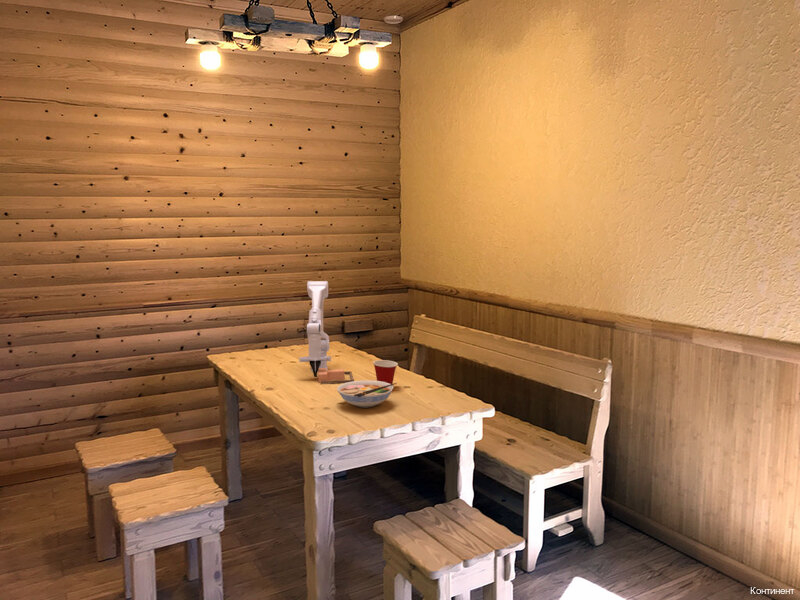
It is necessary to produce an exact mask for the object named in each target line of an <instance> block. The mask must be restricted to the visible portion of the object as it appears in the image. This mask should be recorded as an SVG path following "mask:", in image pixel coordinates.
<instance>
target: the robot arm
mask: <svg viewBox="0 0 800 600" xmlns="http://www.w3.org/2000/svg"><path fill="white" fill-rule="evenodd" d="M306 286H307V287H306V291H307V294H308V297H309V298H311V309H309V311H308V312H309V313H308V323H306V324H307V325H306V334H307V339H308V356H302V357H299V358H298V363H307V362H308V363H309V365H310V369H311V372H312V374H313V377H314V378H317V377H318V369H319V368H327V370H329V367H328V362H332V356H329V355H328V353H327V352H329V351H330V336H329V335H328V334H327V333H326V332H324V301H325V299H327V298H328V297H329V282H328V281H327V280H324V281H323V280H322V281H321V280H320V281H317V280H316V281H315V280H313V281H311V280H308V281H307V283H306Z"/></svg>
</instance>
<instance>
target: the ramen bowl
mask: <svg viewBox="0 0 800 600" xmlns="http://www.w3.org/2000/svg"><path fill="white" fill-rule="evenodd" d="M397 384H398V382H394V383H393V384H389V383H386V382H381V381H377V380H371V379H370V380H367V379H366V380H362V379H361V380H354V381H352V382H347V383H340V385H337V387H336V390H337V392H338V394H339V395H340V396H341V398H342V399H343V400H344V401H345V402H346V403H348V404H351V405H353V406H355V407H357V408H363V409H366V408H368V409H369V408H372V407H374V406H377V405H380V404H381V403H383V402H385V401H386V400H388V399H389V397H390V395H391V393H392V391H393V390H394V385H397Z"/></svg>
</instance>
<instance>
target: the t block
mask: <svg viewBox="0 0 800 600" xmlns="http://www.w3.org/2000/svg"><path fill="white" fill-rule="evenodd" d="M344 372H345V368H342V369H340V368H339V369H337V368H336V369H328V370H327V368H319V369H318V373H317V377H318V379H317V380H318V384H321V381H334V380H343V379H345V377H346V376H345V375H344ZM345 380H346V379H345Z"/></svg>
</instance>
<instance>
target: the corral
mask: <svg viewBox="0 0 800 600" xmlns="http://www.w3.org/2000/svg"><path fill="white" fill-rule="evenodd" d="M344 374H346V375H349V378H350V379H345V380H327V381H321V383H320V384H321V385H332V384H333V385H334V384H335V383H338V384H344V383H347V382H352V381H355V379H354V375H353V372H352V371H351V370H350V371H344Z"/></svg>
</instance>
